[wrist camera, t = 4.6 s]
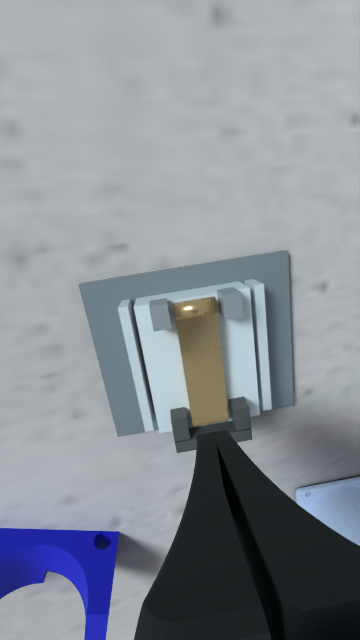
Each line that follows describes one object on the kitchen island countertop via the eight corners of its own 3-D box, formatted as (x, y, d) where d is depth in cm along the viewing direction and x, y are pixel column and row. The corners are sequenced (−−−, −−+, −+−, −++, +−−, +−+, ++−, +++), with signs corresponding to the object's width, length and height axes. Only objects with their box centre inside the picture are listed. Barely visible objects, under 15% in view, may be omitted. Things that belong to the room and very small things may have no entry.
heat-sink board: (284, 250, 19) (322, 254, 15) (290, 400, 23) (322, 440, 18) (81, 283, 19) (57, 297, 14) (119, 431, 22) (109, 479, 18)
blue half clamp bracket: (-20, 562, 25) (-71, 657, 20) (-22, 525, 24) (-78, 615, 18) (115, 564, 27) (103, 654, 21) (119, 529, 26) (108, 614, 20)
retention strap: (212, 294, 16) (216, 299, 15) (225, 412, 19) (229, 422, 18) (172, 301, 16) (173, 306, 15) (191, 418, 19) (193, 429, 18)
